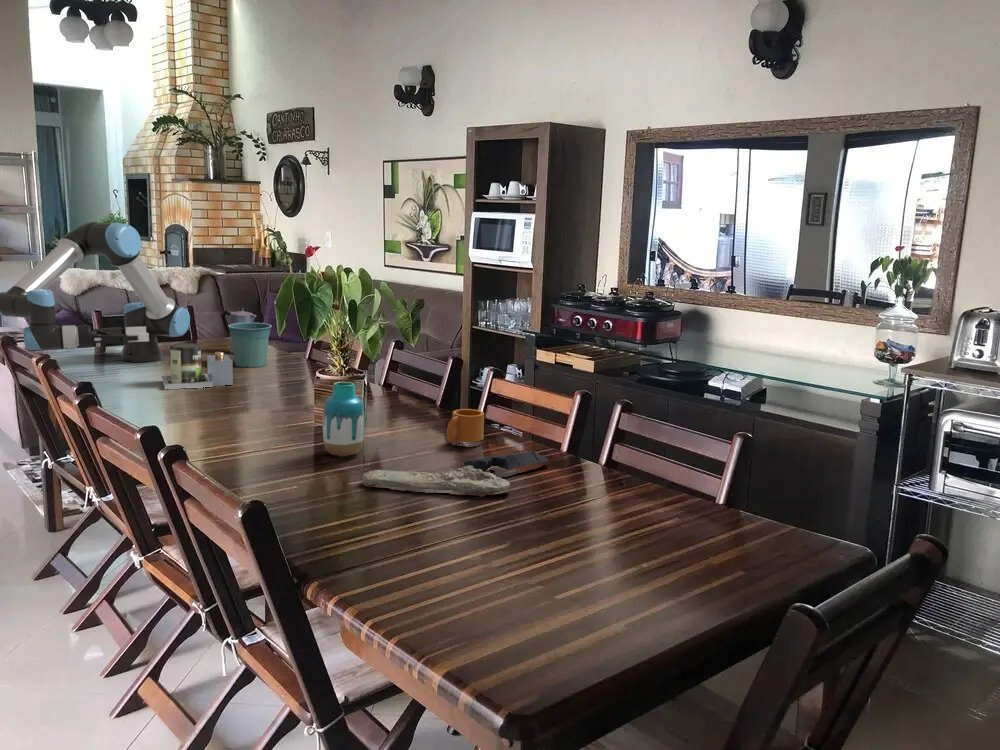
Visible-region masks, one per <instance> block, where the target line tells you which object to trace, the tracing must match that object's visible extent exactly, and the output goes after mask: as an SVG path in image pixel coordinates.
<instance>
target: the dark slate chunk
mask: <svg viewBox="0 0 1000 750" xmlns="http://www.w3.org/2000/svg"><path fill="white" fill-rule="evenodd" d="M522 452H523V453H522ZM522 452H518V453H511V454H503V455H494V456H493V455H492V456H493V457H492V456H485V457H477V458H478V459H476V458H472V459H471V458H470V460H469V459H465V460H466V461H465V460H464V461H465V462H464V465H466V466H473V468H474V469H477V470H478V469H481V470H482V471H486V470H487V469H488V468H490V466H491V465H493V466H499V467H501V468H505V469H507V470H511V469H513V468H514V467H516V466H519V467H521V466H527V465H532V464H536V463H543V462H548V461H549V459H548V458H546V457H545V456H543V455H541V454H540V453H538V452H536V451H526V452H524V451H522Z"/></svg>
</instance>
